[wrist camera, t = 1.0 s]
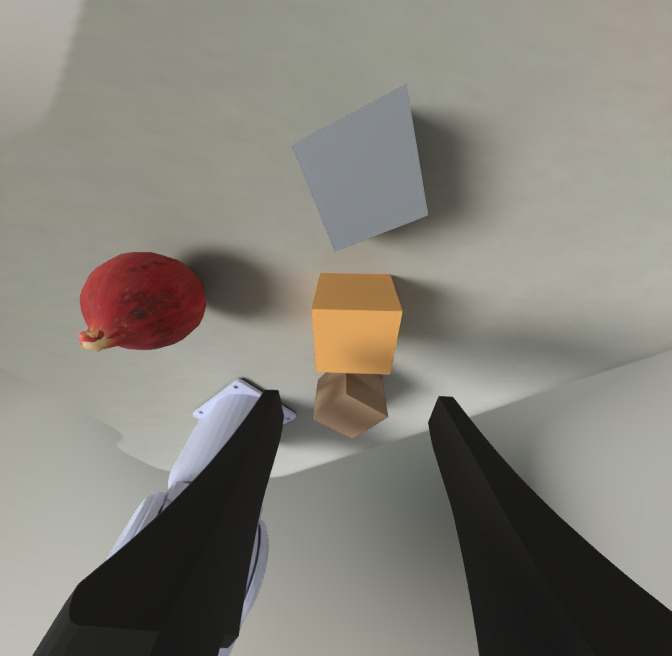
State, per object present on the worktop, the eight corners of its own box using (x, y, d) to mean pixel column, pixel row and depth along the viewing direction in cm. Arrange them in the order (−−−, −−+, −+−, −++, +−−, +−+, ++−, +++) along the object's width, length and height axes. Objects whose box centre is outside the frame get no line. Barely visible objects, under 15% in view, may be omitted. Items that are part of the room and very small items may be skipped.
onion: (188, 222, 16) (74, 272, 9) (239, 296, 19) (181, 372, 12) (125, 253, 17) (-13, 315, 11) (182, 317, 20) (103, 395, 14)
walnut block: (352, 398, 26) (352, 438, 22) (318, 379, 24) (312, 419, 20) (382, 376, 23) (388, 416, 20) (346, 353, 22) (345, 393, 18)
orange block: (322, 328, 20) (316, 371, 16) (320, 272, 17) (311, 309, 13) (382, 330, 20) (390, 374, 16) (390, 274, 17) (402, 311, 13)
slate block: (338, 228, 15) (334, 251, 12) (307, 147, 13) (291, 145, 9) (408, 199, 14) (428, 215, 11) (388, 104, 12) (406, 83, 8)
